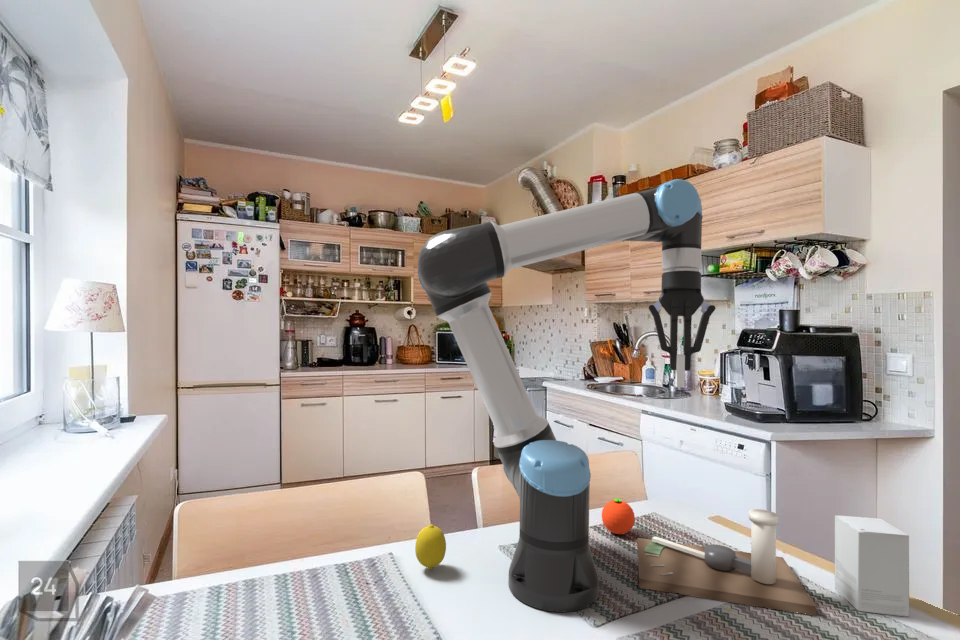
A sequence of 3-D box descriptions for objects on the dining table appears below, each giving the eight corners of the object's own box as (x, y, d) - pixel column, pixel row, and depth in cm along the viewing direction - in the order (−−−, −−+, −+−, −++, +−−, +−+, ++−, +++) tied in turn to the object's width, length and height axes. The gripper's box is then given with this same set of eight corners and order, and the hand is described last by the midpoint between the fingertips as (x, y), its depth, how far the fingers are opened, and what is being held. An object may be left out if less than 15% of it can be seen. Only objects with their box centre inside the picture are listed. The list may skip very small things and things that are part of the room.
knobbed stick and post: (647, 545, 95) (648, 488, 95) (659, 537, 99) (659, 483, 99) (773, 589, 80) (774, 521, 80) (781, 578, 83) (782, 513, 83)
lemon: (409, 573, 87) (410, 527, 87) (424, 559, 92) (425, 516, 92) (437, 579, 84) (437, 533, 85) (450, 565, 90) (451, 521, 90)
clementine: (598, 523, 110) (598, 492, 110) (630, 525, 109) (630, 493, 109) (603, 539, 102) (604, 504, 102) (638, 541, 101) (638, 506, 101)
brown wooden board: (639, 587, 83) (639, 577, 83) (637, 545, 99) (637, 536, 99) (816, 616, 75) (816, 605, 75) (782, 565, 92) (782, 556, 92)
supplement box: (911, 618, 75) (911, 535, 75) (856, 611, 77) (857, 531, 77) (882, 592, 83) (882, 517, 83) (833, 587, 84) (833, 513, 84)
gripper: (712, 273, 102) (711, 386, 102) (646, 274, 106) (645, 383, 105) (719, 268, 95) (718, 390, 94) (648, 269, 98) (647, 387, 98)
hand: (679, 386), depth 100 cm, fingers closed
